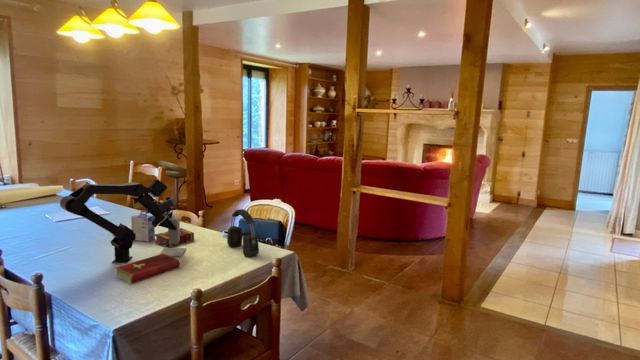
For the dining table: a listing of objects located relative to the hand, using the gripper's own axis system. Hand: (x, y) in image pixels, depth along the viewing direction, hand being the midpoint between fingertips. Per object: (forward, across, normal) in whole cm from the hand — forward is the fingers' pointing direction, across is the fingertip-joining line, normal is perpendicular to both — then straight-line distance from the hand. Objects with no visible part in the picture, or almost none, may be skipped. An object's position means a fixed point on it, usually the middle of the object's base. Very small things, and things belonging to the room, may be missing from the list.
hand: (177, 228), depth 177 cm
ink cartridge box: (-6, +22, +23) cm, 32 cm away
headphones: (+29, +2, -12) cm, 32 cm away
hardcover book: (+4, -20, +14) cm, 25 cm away
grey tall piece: (+4, 0, +6) cm, 7 cm away
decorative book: (+5, +17, +12) cm, 22 cm away
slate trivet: (+7, 0, +10) cm, 12 cm away
